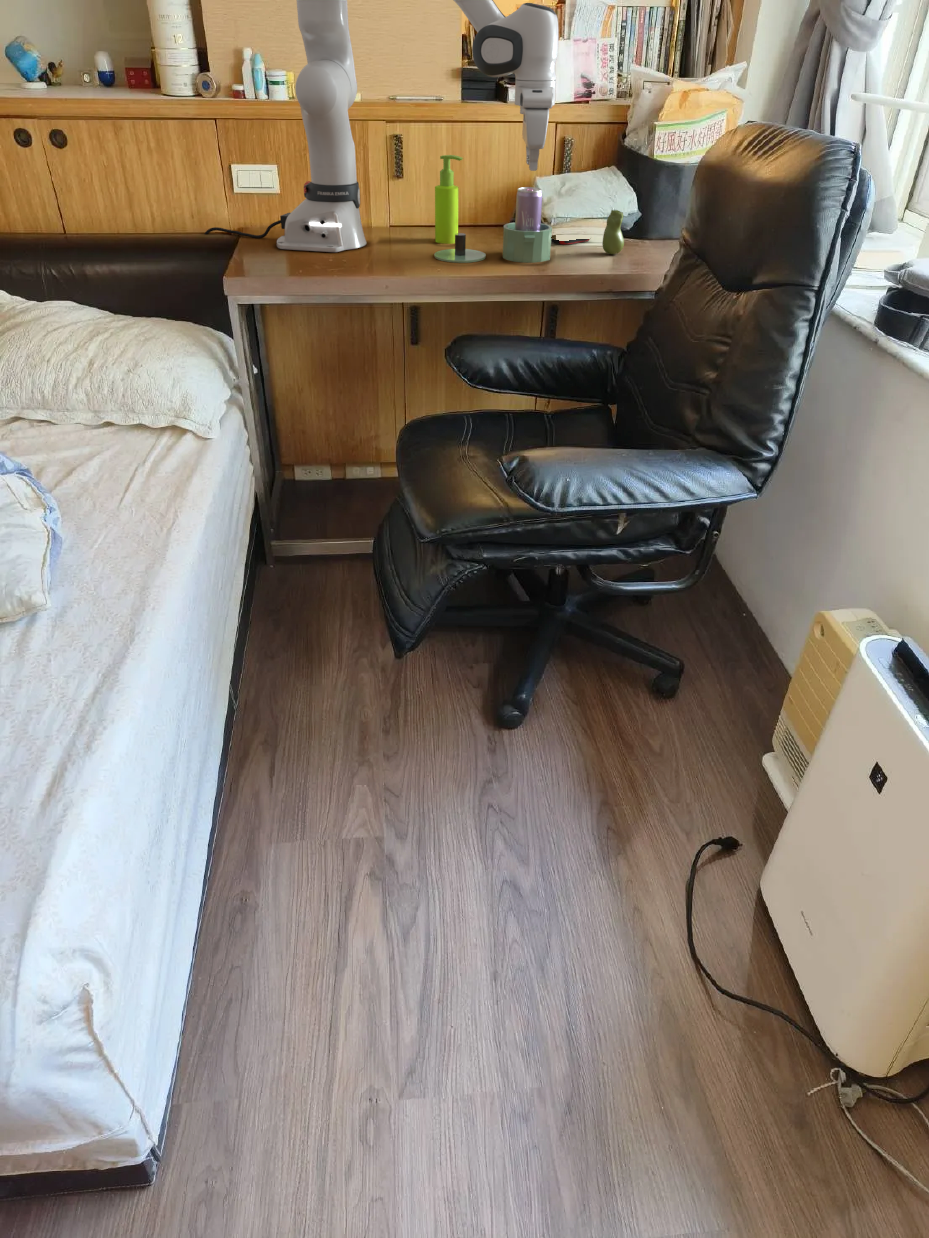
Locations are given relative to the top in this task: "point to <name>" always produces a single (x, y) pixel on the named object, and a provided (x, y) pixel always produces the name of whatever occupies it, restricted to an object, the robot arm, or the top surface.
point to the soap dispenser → (446, 204)
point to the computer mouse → (569, 241)
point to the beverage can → (528, 209)
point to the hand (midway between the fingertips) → (531, 167)
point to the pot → (526, 244)
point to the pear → (613, 233)
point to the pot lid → (460, 252)
